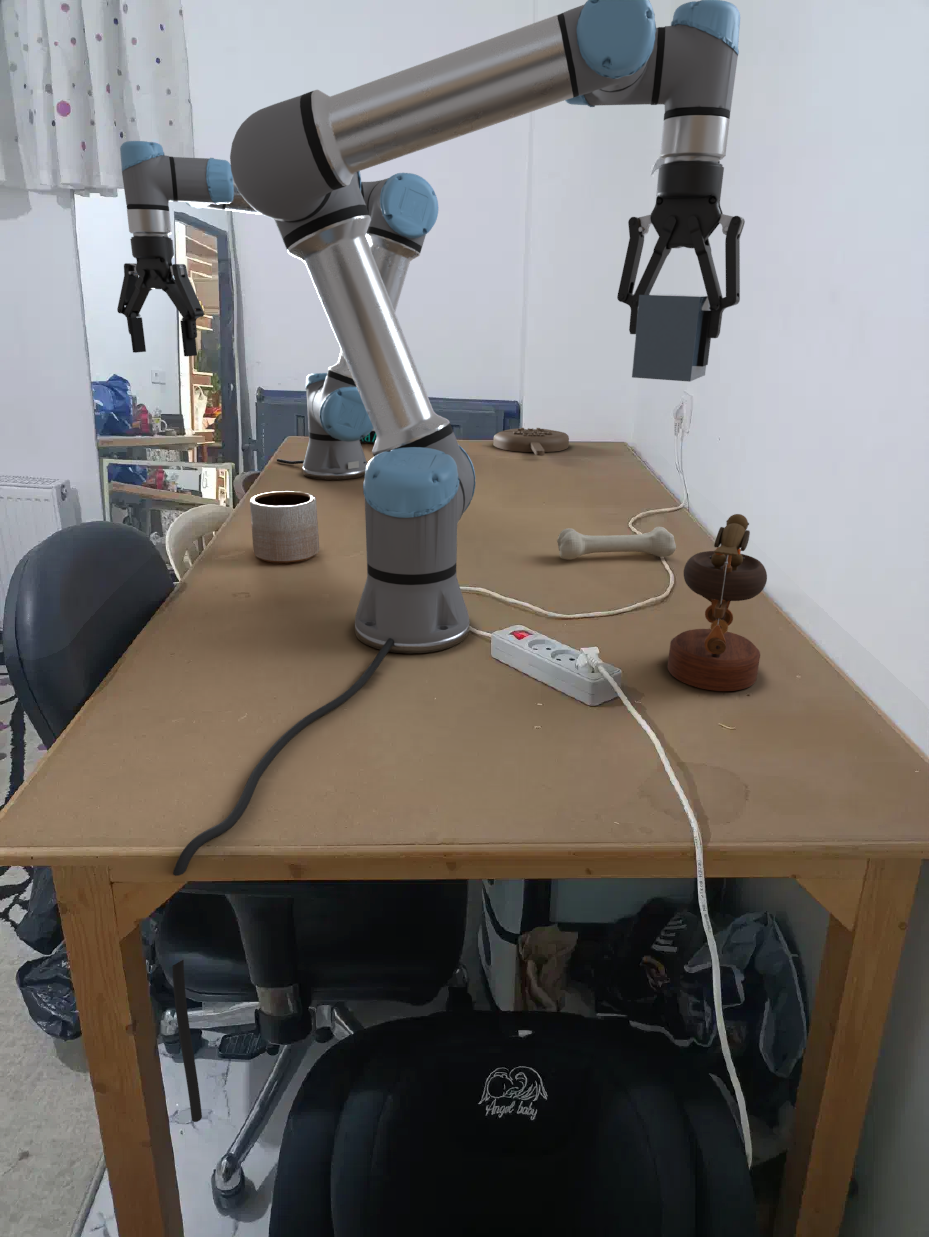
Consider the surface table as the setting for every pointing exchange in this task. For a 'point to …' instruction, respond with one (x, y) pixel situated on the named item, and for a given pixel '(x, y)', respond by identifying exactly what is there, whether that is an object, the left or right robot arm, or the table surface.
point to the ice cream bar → (531, 440)
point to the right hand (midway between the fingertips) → (670, 363)
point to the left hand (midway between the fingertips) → (164, 354)
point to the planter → (284, 526)
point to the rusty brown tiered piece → (720, 614)
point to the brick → (669, 337)
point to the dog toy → (615, 543)
